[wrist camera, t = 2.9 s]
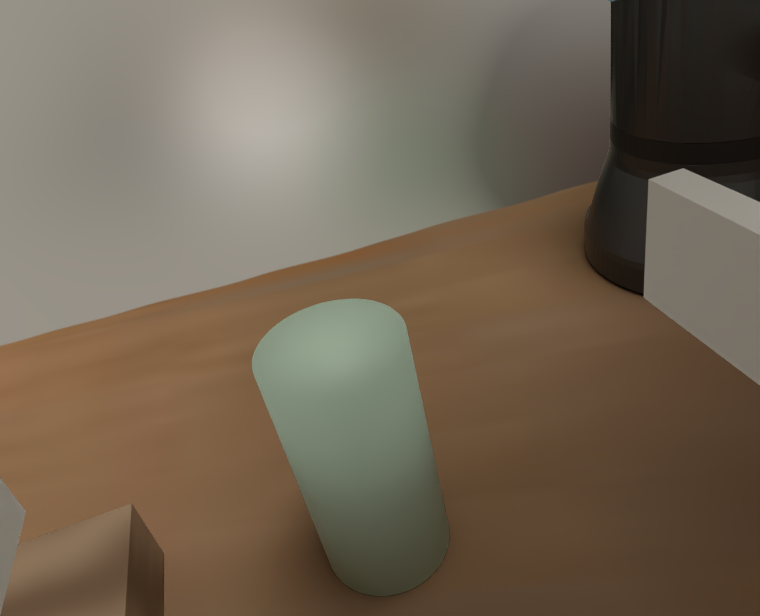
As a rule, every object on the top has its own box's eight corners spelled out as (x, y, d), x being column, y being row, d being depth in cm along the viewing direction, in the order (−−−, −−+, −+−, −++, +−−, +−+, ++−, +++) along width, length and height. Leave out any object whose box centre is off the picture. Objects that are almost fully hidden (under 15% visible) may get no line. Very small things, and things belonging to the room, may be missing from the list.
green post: (316, 512, 33) (244, 328, 26) (424, 471, 33) (380, 283, 27) (343, 616, 28) (262, 422, 21) (469, 566, 28) (430, 363, 22)
